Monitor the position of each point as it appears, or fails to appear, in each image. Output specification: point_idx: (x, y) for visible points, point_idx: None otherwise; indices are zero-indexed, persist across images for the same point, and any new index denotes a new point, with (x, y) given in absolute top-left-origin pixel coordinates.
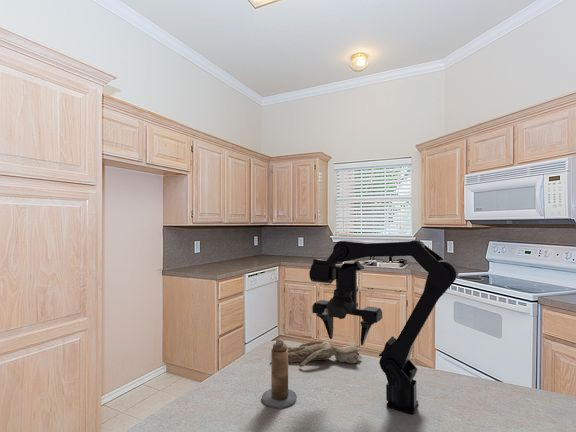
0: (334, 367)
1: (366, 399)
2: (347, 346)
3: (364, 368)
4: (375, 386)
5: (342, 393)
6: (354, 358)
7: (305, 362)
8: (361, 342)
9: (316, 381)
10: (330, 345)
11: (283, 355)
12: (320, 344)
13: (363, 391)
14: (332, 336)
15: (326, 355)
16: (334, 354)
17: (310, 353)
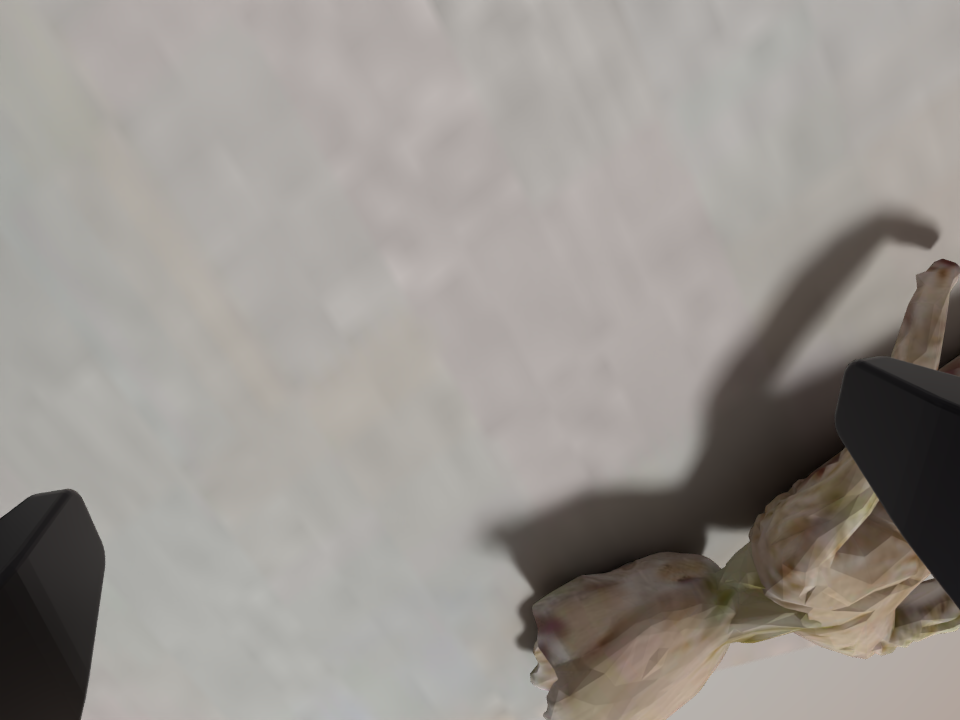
0: (666, 450)
1: (123, 113)
2: (670, 701)
3: (452, 579)
4: (212, 392)
5: (384, 68)
6: (557, 616)
7: (923, 297)
8: (9, 530)
9: (709, 126)
10: (810, 619)
11: None
12: (902, 579)
13: (242, 242)
14: (854, 453)
15: (785, 499)
16: (730, 565)
17: None
